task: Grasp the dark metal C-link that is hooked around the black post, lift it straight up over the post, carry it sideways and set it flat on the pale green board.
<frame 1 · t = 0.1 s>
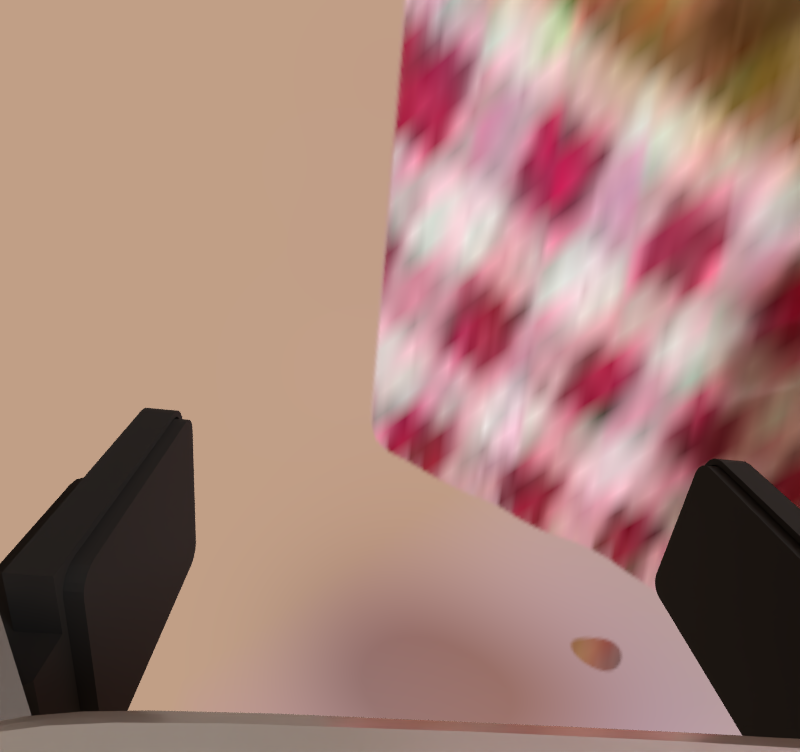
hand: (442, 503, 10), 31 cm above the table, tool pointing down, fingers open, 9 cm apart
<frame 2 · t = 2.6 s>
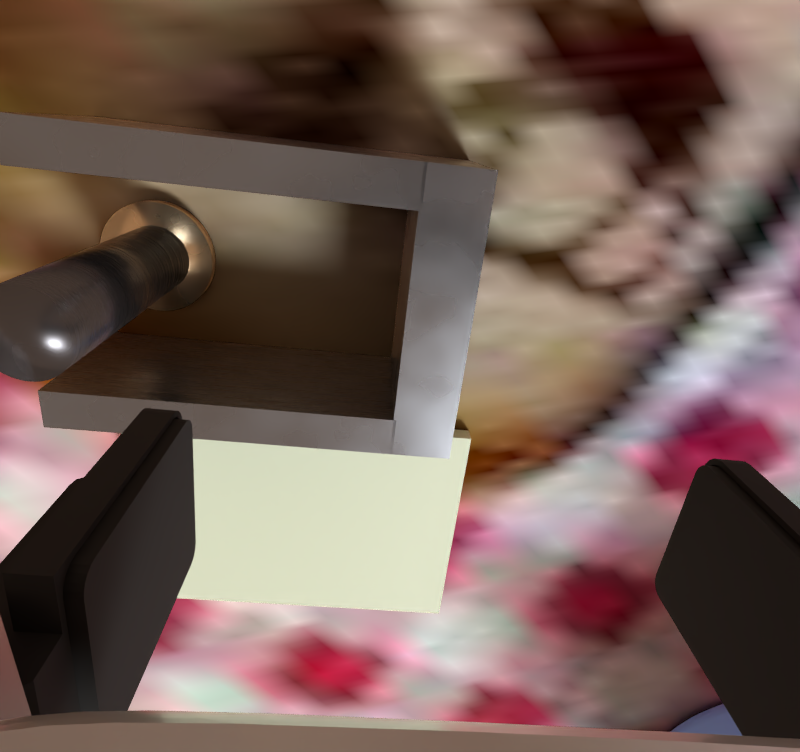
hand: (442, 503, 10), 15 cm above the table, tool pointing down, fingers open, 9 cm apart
c link: (425, 281, 24), on the table
board: (297, 511, 28), on the table
stand: (161, 255, 23), on the table
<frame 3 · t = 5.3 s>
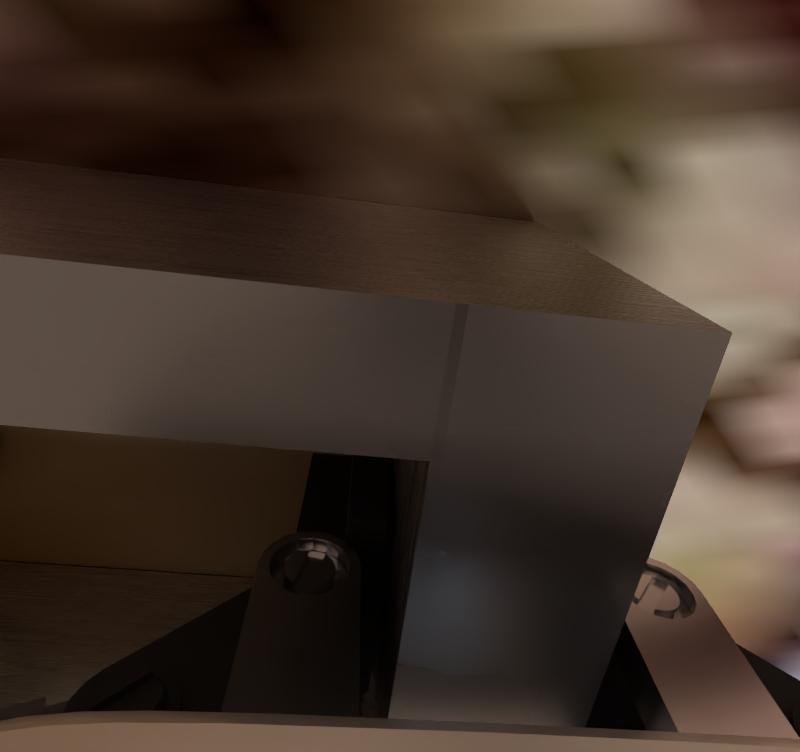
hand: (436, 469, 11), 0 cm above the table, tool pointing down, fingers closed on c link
c link: (434, 458, 12), on the table, touching gripper
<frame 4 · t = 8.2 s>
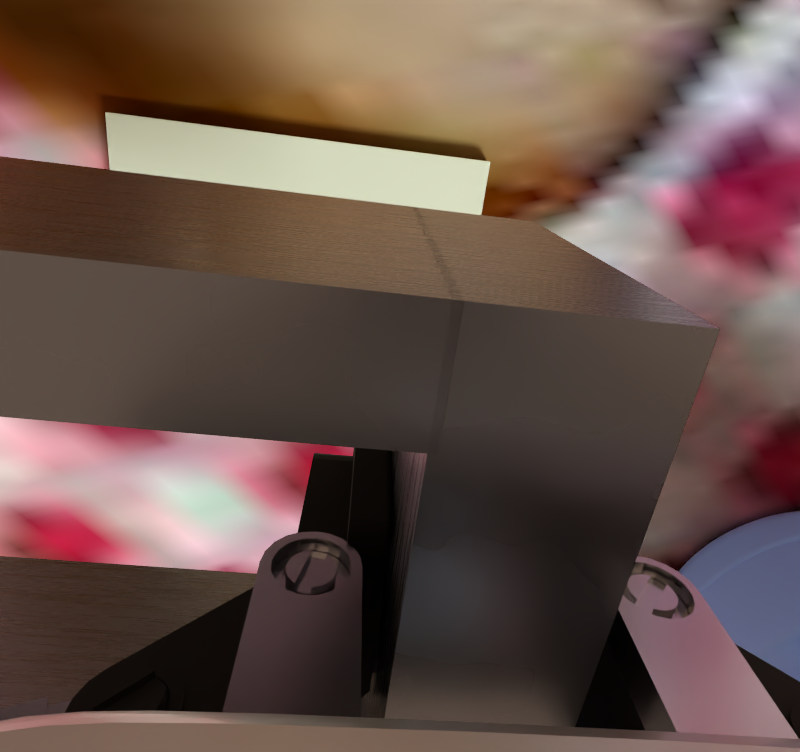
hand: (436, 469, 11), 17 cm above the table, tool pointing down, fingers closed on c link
water jug: (768, 600, 36), on the table
c link: (432, 455, 12), point 16 cm above the table, touching gripper
board: (299, 263, 26), on the table
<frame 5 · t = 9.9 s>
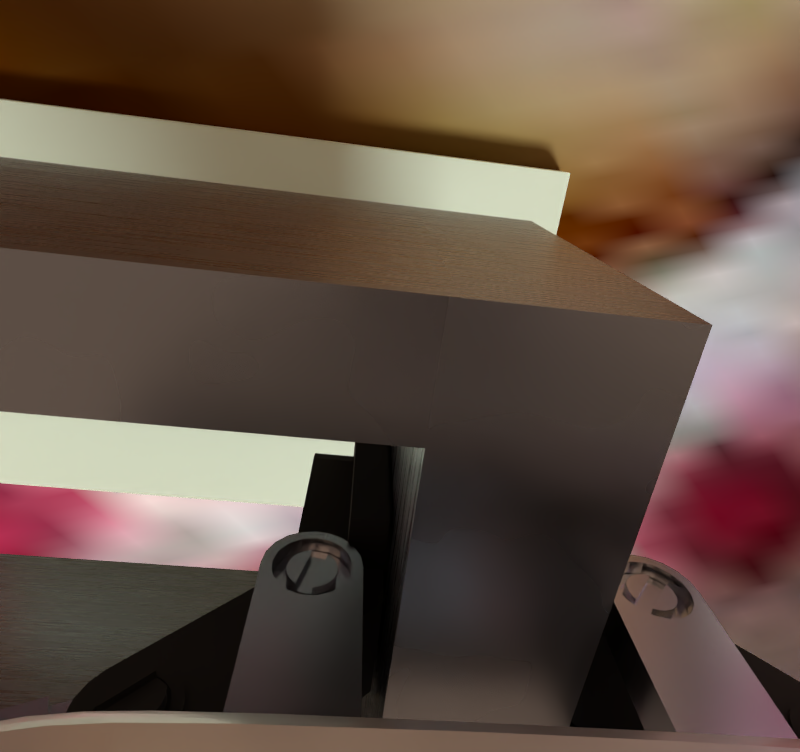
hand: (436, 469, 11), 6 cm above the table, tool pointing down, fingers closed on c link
c link: (432, 452, 12), point 5 cm above the table, touching gripper
board: (254, 333, 16), on the table
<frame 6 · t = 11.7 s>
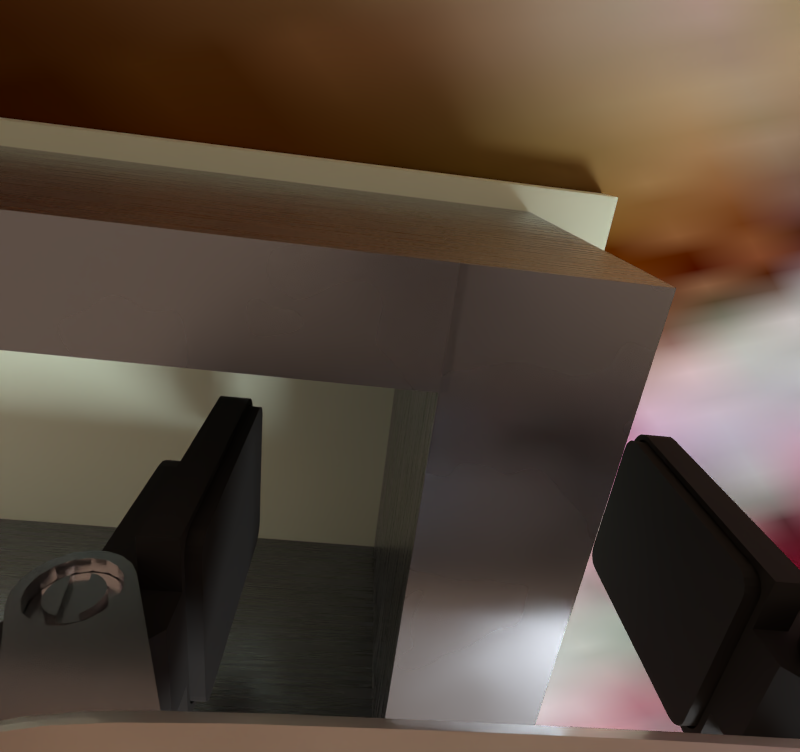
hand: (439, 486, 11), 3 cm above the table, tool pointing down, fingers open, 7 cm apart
c link: (437, 427, 13), point 1 cm above the table, touching board
board: (219, 392, 13), on the table
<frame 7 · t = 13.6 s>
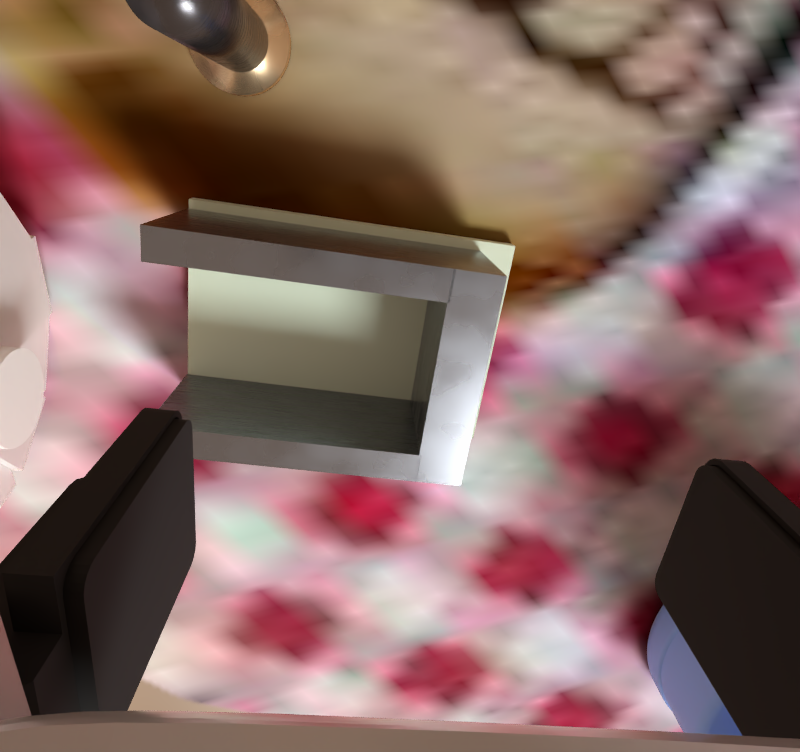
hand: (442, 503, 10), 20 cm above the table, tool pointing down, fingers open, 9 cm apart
water jug: (748, 624, 40), on the table
c link: (441, 341, 30), point 1 cm above the table, touching board
board: (345, 325, 30), on the table
stand: (241, 41, 25), on the table
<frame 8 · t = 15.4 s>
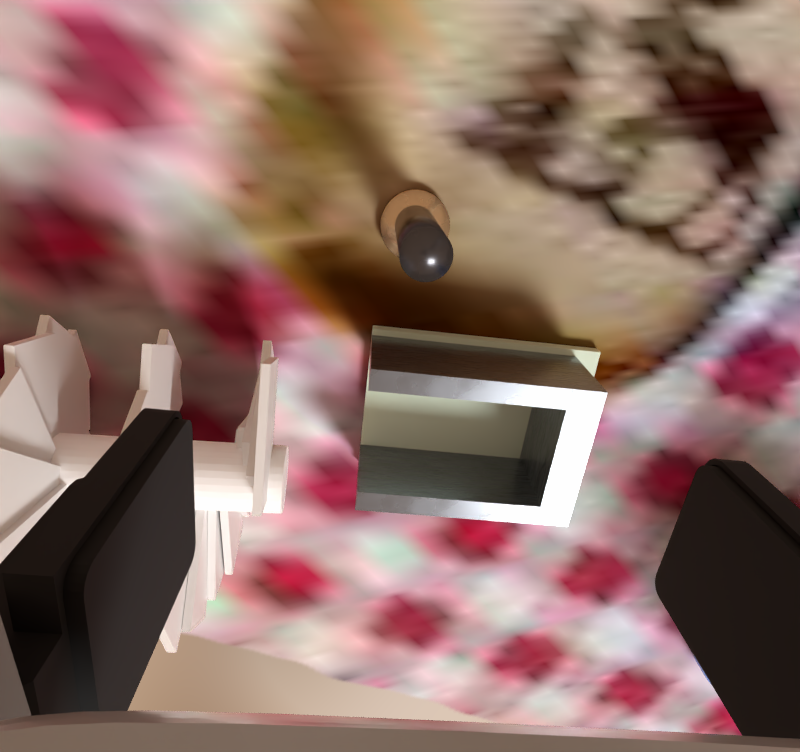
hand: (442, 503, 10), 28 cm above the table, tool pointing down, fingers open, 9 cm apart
c link: (544, 417, 41), point 1 cm above the table, touching board
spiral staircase: (128, 404, 41), on the table
board: (473, 406, 41), on the table
stand: (414, 225, 36), on the table
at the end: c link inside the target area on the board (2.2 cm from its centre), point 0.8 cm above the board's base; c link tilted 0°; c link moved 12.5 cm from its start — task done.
